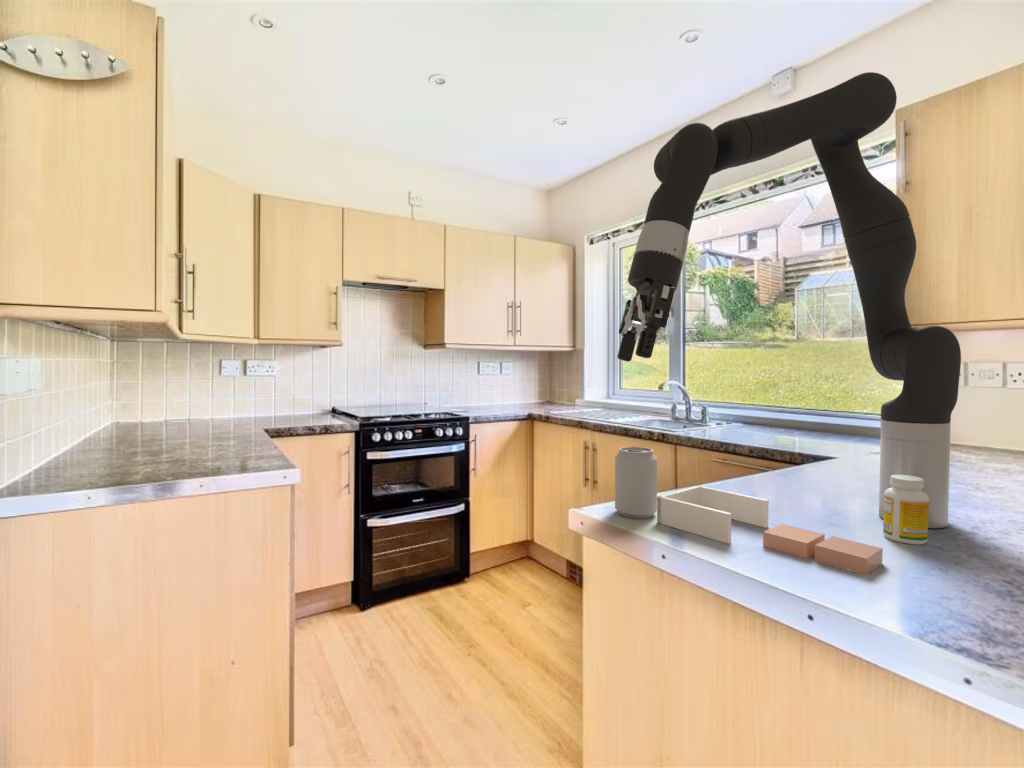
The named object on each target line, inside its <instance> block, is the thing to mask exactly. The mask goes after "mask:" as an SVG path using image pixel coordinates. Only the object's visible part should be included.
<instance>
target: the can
mask: <svg viewBox="0 0 1024 768" xmlns="http://www.w3.org/2000/svg"><path fill="white" fill-rule="evenodd" d="M657 496H658V457H657V456H656V455H655V454H654V449H653V448H650V447H646V446H645V447H644V446H622V447H619V448H618V453H616V455H615V456H614V509H615V510H616V511H617V512H618V513H619V515H621V516H623V517H626V518H630V519H647V518H651V517H653V515H655V513H657Z"/></svg>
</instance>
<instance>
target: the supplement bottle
mask: <svg viewBox="0 0 1024 768" xmlns="http://www.w3.org/2000/svg"><path fill="white" fill-rule="evenodd" d="M890 483H891V485H892V488H888V489H887V490H886V491H885V493H884V517H883V518H882V519H883V520H882V521H883V523H882V525H883V526H882V533H883V535H884V537H886V539H888V540H891V541H893V542H897V543H902V544H909V545H925V544H926V543H927V542H928V536H929V528H928V514H929V497H928V496H927V494H926V493H924V492H922V491H921V489H923V487H924V479H922V478H919V477H915V476H908V475H891V477H890Z"/></svg>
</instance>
